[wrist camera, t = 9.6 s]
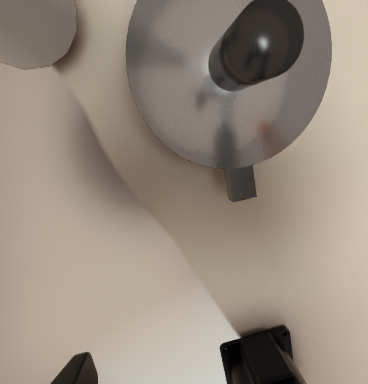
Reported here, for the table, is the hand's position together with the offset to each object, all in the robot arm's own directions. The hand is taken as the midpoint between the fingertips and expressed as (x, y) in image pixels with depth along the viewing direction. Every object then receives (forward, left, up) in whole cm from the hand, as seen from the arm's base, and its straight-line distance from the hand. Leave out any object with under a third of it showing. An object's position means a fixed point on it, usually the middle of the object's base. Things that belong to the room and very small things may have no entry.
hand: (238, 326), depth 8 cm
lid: (+8, -4, -8) cm, 12 cm away
